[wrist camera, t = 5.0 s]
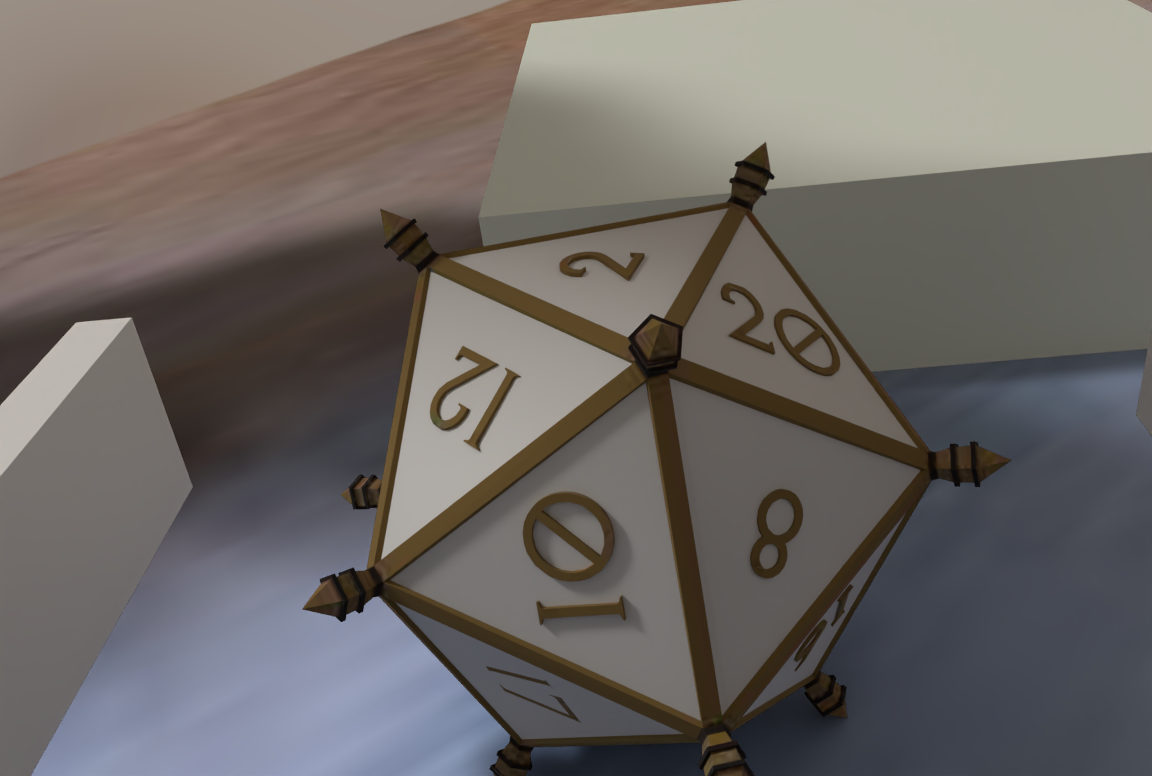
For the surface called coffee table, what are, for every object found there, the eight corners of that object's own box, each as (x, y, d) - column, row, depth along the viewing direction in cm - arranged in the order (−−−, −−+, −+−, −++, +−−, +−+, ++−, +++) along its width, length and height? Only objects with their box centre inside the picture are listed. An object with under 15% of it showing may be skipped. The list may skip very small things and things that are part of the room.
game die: (706, 749, 21) (916, 254, 20) (892, 1105, 12) (1269, 278, 11) (246, 600, 19) (450, 55, 18) (102, 893, 11) (465, -84, 10)
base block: (512, 417, 26) (478, 217, 23) (549, 160, 41) (531, 23, 38) (1320, 351, 24) (1380, 130, 22) (1043, 110, 40) (1058, -35, 37)
